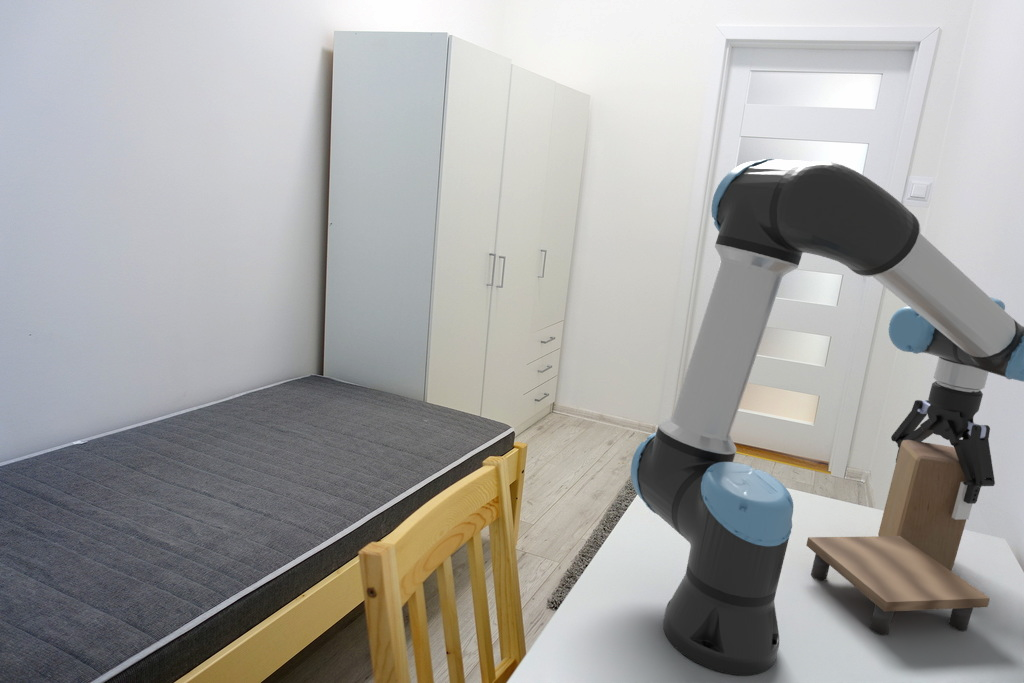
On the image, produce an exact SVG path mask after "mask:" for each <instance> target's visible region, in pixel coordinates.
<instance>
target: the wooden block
mask: <svg viewBox="0 0 1024 683" xmlns="http://www.w3.org/2000/svg"><path fill="white" fill-rule="evenodd" d="M898 449H899V448H898ZM897 453H898V452H897ZM896 458H897V461H896V460H895V466H894V470H893V473H892V479H891V482H890V485H889V490H888V493H887V497H886V501H885V502H886V503H885V505H884V510H883V513H882V518H881V522H880V526H879V530H878V533H877V535H878V536H900V537H902V538H903V539H905V540H906V541H908V542H909V543H911V544H912V545H913V546H915V547H916V548H918V549H919V550H921V551H922V552H924V553H925V554H927V555H928V556H930V557H931V558H932V559H934V560H935V561H937V562H938V563H940V564H941V565H943V566H944V567H946V568H947V569H948V570H950V571H951V572H952V570H953V568H954V567H955V566H954V565H955V561H956V559H957V558H956V557H957V556H958V555H957V554H958V550H959V547H960V544H961V540H962V536H963V533H964V530H965V527H966V522H967V519H958V520H955V519H953V518H952V514H953V510H954V506H955V502H956V499H957V495H958V491H959V487H960V484H961V482H965V481H966V480H965V477H964V474H963V471H962V468H961V465H960V463H959V460H958V457H957V454H956V451H955V448H954V446H949V445H942V444H936V443H931V442H925V441H924V442H923V441H922V442H919V441H913V440H903V441H902V443H901V445H900V449H899V453H898V457H897V456H896ZM973 478H974V476H973Z"/></svg>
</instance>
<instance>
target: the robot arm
mask: <svg viewBox="0 0 1024 683" xmlns="http://www.w3.org/2000/svg"><path fill="white" fill-rule="evenodd" d="M710 212H711V218H713V220H714V222H713V225H714V226H715V229H716V230H717V232H718V235H717V238H716V242H715V244H714V248H715V250H716V251H717V253H718V255H719V256H720V260H721V262H720V265H719V268H718V271H717V273H716V274H717V275H716V277H715V281H714V284H713V286H712V287H713V288H712V289H711V293H710V295H709V299H708V302H707V306H706V309H705V312H704V316H703V318H702V321H701V324H700V328H699V331H698V335H697V337H696V340H695V344H694V347H693V349H692V352H691V356H690V360H689V362H688V366H687V368H686V372H685V375H684V378H683V381H682V385H681V387H680V391H679V394H678V397H677V401H676V404H675V407H674V410H673V413H672V416H670V417H668V418H666V419H665V420H662V421H660V422H659V424H658V426H657V430H656V431H655V432H654V433H651V434H649V436H647V437H646V440H645V441H641V442H640V443H639V445H638V446H637V448H636V450H635V451H634V453H633V455H632V460H631V464H630V478H631V483H632V486H633V489H634V491H635V493H636V494H637V495H638V497H639V498H640V499H641V500H642V501H643V503H644V504H645V505H646V507H647V508H648V509H649V510H650V511H651V512H652V513H654V514H656V515H657V516H659V517H660V518H661V519H663V521H664V522H666V524H667V525H669V527H671V529H673V530H674V531H676V532H677V533H678V534H679V535H680V536H682V537H683V538H684V539H685V540H686V541H688V543H689V544H690V549H689V552H688V553H689V555H688V559H687V564H686V566H687V567H686V570H685V574H684V576H683V578H682V580H681V581H680V583H679V584H678V586H677V588H676V590H675V592H674V594H673V595H672V597H671V599H670V600H669V601H668V602H667V604H666V607H665V611H664V616H663V622H662V626H663V627H662V628H663V631H664V634H665V636H666V638H667V640H669V642H670V643H671V645H673V647H674V648H675V649H676V650H677V651H679V653H681V654H682V655H684V656H685V657H687V658H688V659H690V660H691V661H693V662H694V663H697V664H699V665H700V666H703V667H706V668H708V669H711V670H714V671H717V672H720V673H725V674H731V675H739V676H745V675H746V676H748V675H755V674H760V673H763V672H766V671H767V670H769V669H770V668H771V667H772V666H773V665H775V662H776V660H777V657H778V652H779V647H780V635H779V633H780V632H779V625H778V618H777V611H776V606H775V598H776V594H777V590H778V587H779V586H778V585H779V581H780V577H781V572H782V569H783V565H784V560H785V556H786V552H787V549H788V545H789V540H790V536H791V534H792V529H793V514H794V502H793V501H794V500H793V497H792V495H791V494H790V492H789V490H788V489H787V487H786V486H785V485H784V484H783V483H782V482H781V481H780V480H778V479H777V478H776V477H774V476H773V475H771V474H770V473H768V472H765V471H764V470H762V469H760V468H759V469H755V468H753V467H752V466H751V465H748V464H744V463H741V462H734V460H735V459H734V458H735V456H736V453H737V450H738V449H737V446H736V445H735V443H734V441H733V439H732V436H731V433H732V430H733V427H734V424H735V421H736V418H737V415H738V412H739V409H740V406H741V404H742V400H743V397H744V394H745V391H746V388H747V385H748V383H749V380H750V376H751V374H752V370H753V368H754V367H753V366H754V364H755V361H756V358H757V354H758V352H759V349H760V345H761V343H762V340H763V336H764V333H765V331H766V328H767V326H768V321H769V319H770V316H771V313H772V310H773V307H774V304H775V301H776V297H777V294H778V292H779V289H780V286H781V283H782V280H783V278H784V276H785V275H787V274H789V273H791V272H793V271H794V270H796V269H798V268H799V265H800V262H801V260H802V255H803V253H804V254H809V255H813V256H814V255H815V256H820V257H823V258H827V259H830V260H833V261H835V262H838V263H840V264H842V265H844V266H846V267H847V268H848V269H849V270H851V271H852V272H853V273H855V274H856V275H858V276H861V277H868V278H869V277H873V279H874V280H876V281H877V282H879V283H880V284H881V285H883V286H884V287H885V288H886V289H887V290H888V291H890V292H891V293H892V294H893V295H895V296H896V297H897V298H898V299H899V300H901V301H902V302H903V303H904V304H905V305H907V306H903V307H901V308H899V309H898V310H897V311H895V312H894V314H893V315H892V317H891V318H890V320H889V324H888V325H889V326H888V336H889V338H890V341H891V343H892V345H893V346H894V347H895V348H897V349H898V350H900V351H902V352H907V353H913V354H916V355H917V354H921V353H922V354H927V355H932V356H936V357H938V359H937V363H936V368H935V371H934V375H933V379H934V380H935V381H934V382H932V383H931V386H930V391H929V395H928V398H927V399H928V400H926V399H925V400H924V399H916V400H914V402H913V405H912V408H911V410H910V412H909V413H908V414H907V415H906V417H905V418H904V420H903V421H902V422H901V423H900V425H899V426H898V427H897V429H896V430H895V431H894V432H893V433H892V435H891V441H892V442H895V443H896V445H897V447H898V448H897V449H898V450H897V455H896V458H895V462H896V461H897V457H898V453H899V449H900V445H901V443H902V441H903V440H913V441H919V442H923V441H924V440H926V439H928V438H929V437H930V436H932V435H933V434H934V435H935V436H941V437H942V438H943V439H944V440H946V441H949V443H950V445H951V447H954V448H955V451H956V454H957V457H958V460H959V463H960V465H961V468H962V471H963V474H964V477H965V480H966V481H965V482H961V484H960V487H959V491H958V495H957V499H956V502H955V506H954V510H953V514H952V518H953V519H955V520H958V519H966V520H969V518H970V515H971V511H972V509H973V508H972V507H973V505H974V504H976V503H977V502H978V499H979V495H980V492H981V488H982V487H994V486H995V484H996V480H995V473H994V468H993V463H992V462H993V460H992V455H991V449H990V441H989V439H990V438H989V437H990V431H991V428H990V426H989V425H988V424H987V425H986V424H978V423H975V422H974V416H975V415H976V414H977V413H978V412H979V411H980V407H981V404H982V403H981V402H982V400H983V396H984V393H983V392H982V391H981V390H983V389H985V387H986V384H987V379H988V376H989V373H991V374H994V375H997V376H1000V377H1004V378H1005V379H1007V380H1015V381H1019V382H1023V383H1024V325H1021V324H1020V323H1018V321H1017V320H1016V319H1014V318H1013V317H1012V316H1010V314H1008V313H1007V312H1006V311H1005V310H1006V304H1005V302H1003V301H1002V300H1001V299H998V298H994V297H990V296H989V295H988V294H987V293H985V291H984V290H983V289H982V288H980V287H979V286H978V285H977V284H976V283H975V282H974V281H973V280H971V279H970V277H968V275H966V274H965V273H964V272H963V271H962V270H961V269H960V268H959V267H957V265H955V263H953V262H952V261H951V260H950V259H949V258H948V257H947V256H946V255H945V254H943V253H942V252H941V251H940V250H939V248H937V247H935V245H933V244H932V242H930V240H928V239H927V238H926V237H925V236H924V235H923V234H921V224H920V221H919V219H918V218H917V217H916V216H915V215H914V213H912V212H911V211H910V210H909V209H908V208H907V207H906V206H905V205H904V204H903V203H902V202H901V201H899V200H898V199H897V198H895V196H893V195H892V194H891V193H890V192H888V191H887V190H885V189H884V188H883V187H881V186H880V185H879V184H878V183H876V182H875V181H873V180H871V179H870V178H868V177H867V176H865V175H864V174H861V173H860V172H858V171H857V170H855V169H852V168H850V167H848V166H845V165H842V164H839V163H837V162H836V163H835V162H832V161H809V160H807V161H805V160H789V159H774V158H770V159H769V158H768V159H761V160H752V161H747V162H744V163H741V164H740V165H738V166H736V167H734V168H733V169H731V170H730V171H729V172H728V173H727V174H725V176H724V177H722V179H721V181H720V182H719V184H718V185H717V187H716V189H715V191H714V194H713V196H712V201H711V211H710ZM926 417H927V419H926V420H924V419H925V418H926ZM923 420H924V422H922V421H923ZM919 425H920V426H919ZM973 476H974V478H973Z"/></svg>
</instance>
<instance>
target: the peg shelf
mask: <svg viewBox="0 0 1024 683" xmlns="http://www.w3.org/2000/svg"><path fill="white" fill-rule="evenodd" d="M806 547H808V548H809V550H811V551H812V552H813V553H815V554H814V558H813V559H814V560H813V563H812V568H811V573H810V575H811V577H812V578H814V579H815V580H819V581H826V580H827V578H828V573H829V570H830V568H832V569H834V570H835V571H836V572H837V573H838V574H839V575H841V576H842V578H844V579H846V580H847V582H849V583H850V585H853V586H854V587H855V588H856V589H857V590H859V592H861V594H863V595H864V596H865V597H867V598H868V599H869V600H870V601H871V602H872V603H874V610H873V614H872V617H871V621H870V625H869V628H870V630H871V631H872V632H873V633H875V634H878V635H881V636H887V635H889V632H890V628H891V624H892V620H893V617H894V613H895V612H905V611H907V612H909V611H910V612H911V611H925V610H926V611H929V610H932V611H933V610H951V612H950V615H949V616H950V617H949V620H948V625H949V626H950V627H951V628H953V629H954V630H957V631H961V632H967V630H968V627H969V624H970V622H971V621H970V620H971V616H972V614H973V610H974V609H976V608H977V609H980V608H988V607H989V603H990V601H991V598H990V597H989V595H986V594H985V593H983V592H982V591H980V590H979V589H977V588H976V587H974V586H973V585H972V584H970V583H969V582H967V581H966V580H965V579H963V578H962V577H960V575H957V574H956V573H954V572H953V571H952V570H951V571H950V570H948V569H947V568H946V567H944V566H943V565H941V564H940V563H938V562H937V561H935V560H934V559H932V558H931V557H930V556H928V555H927V554H925V553H924V552H922V551H921V550H919V549H918V548H916V547H915V546H913V545H912V544H911V543H909V542H908V541H906V540H905V539H903V538H902V537H900V536H879V535H878V536H876V535H875V536H808V537H807V541H806Z"/></svg>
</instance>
